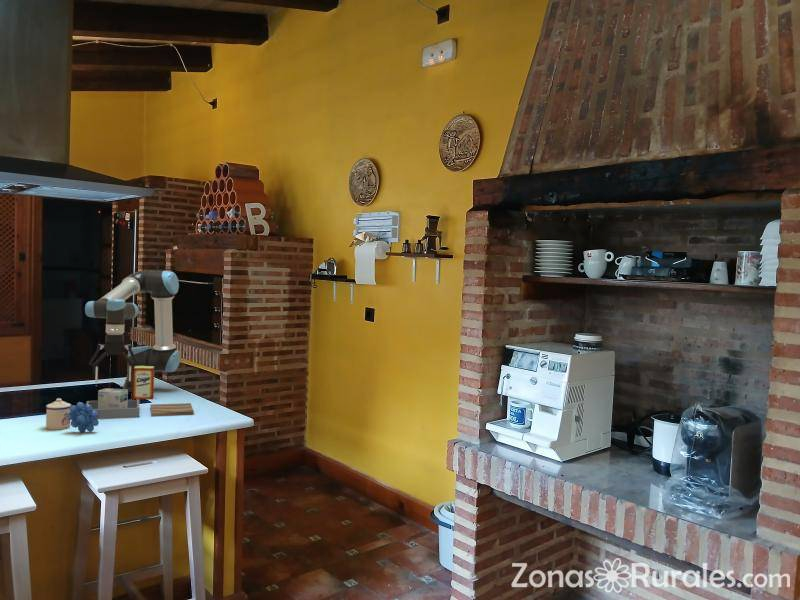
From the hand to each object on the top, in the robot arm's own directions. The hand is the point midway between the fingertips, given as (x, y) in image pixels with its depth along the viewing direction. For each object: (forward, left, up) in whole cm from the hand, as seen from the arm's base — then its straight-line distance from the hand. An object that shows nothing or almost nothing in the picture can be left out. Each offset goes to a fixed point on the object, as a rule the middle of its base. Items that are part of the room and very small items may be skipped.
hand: (113, 381), depth 280 cm
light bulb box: (0, 0, -15) cm, 15 cm away
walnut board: (0, +25, -15) cm, 29 cm away
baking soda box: (-32, +13, -15) cm, 38 cm away
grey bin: (0, 0, -15) cm, 15 cm away
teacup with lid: (+20, -19, -15) cm, 31 cm away
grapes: (+32, -10, -15) cm, 36 cm away
